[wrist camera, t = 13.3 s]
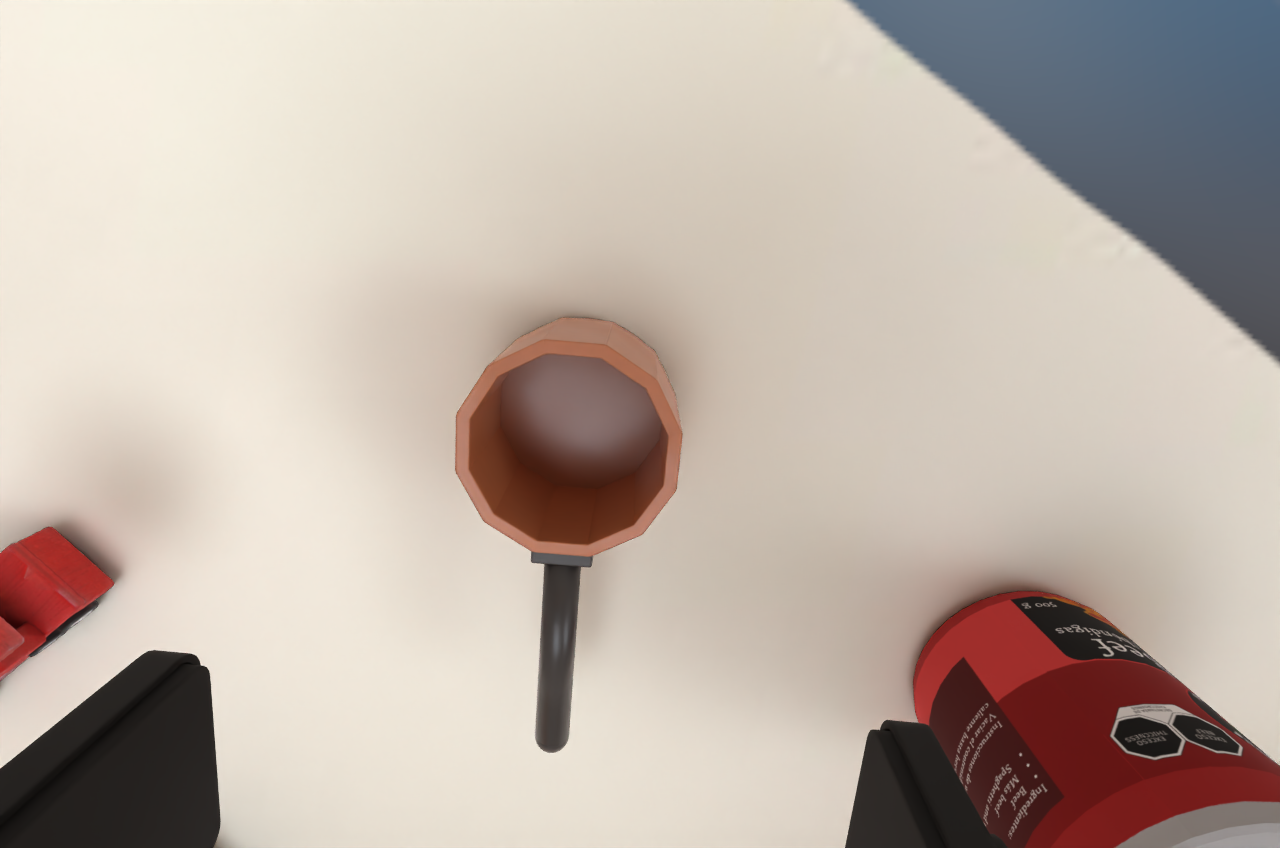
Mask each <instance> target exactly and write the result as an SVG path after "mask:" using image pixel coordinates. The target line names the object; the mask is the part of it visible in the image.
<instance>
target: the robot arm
mask: <svg viewBox="0 0 1280 848" xmlns="http://www.w3.org/2000/svg"><path fill="white" fill-rule="evenodd" d="M219 829H220V807H219V793H218V779H217V765H216V751H215V737H214V723H213V709H212V696H211V682H210V673H209V670H208V669H207V667H205V666H201V665H200V661H199V659H198V658H197V656H195V655H193V654H188V653H178V652H167V651H156V650H153V651H148V652H146V653H144V654H143V655H141V656H140V657H139V658H137V659H136V660H135V661H134V662H132V663H131V664H130V665H129V666H128V667H126V668H125V669H124V670H123V671H121V672H120V673H119V674H118V675H116V676H115V677H114V678H113V679H111V680H110V681H109V682H108V683H106V684H105V685H104V686H103V687H101V688H100V689H99V690H98V691H96V692H95V693H94V694H93V695H91V696H90V697H89V698H88V699H86V700H85V701H84V702H83V703H81V704H80V705H79V706H78V707H77V708H75V709H74V710H73V711H72V712H70V713H69V714H68V715H67V716H65V717H64V718H63V719H62V720H60V721H59V722H58V723H57V724H55V725H54V726H53V727H52V728H50V729H49V730H48V731H47V732H45V733H44V734H43V735H42V736H40V737H39V738H38V739H37V740H35V741H34V742H33V743H32V744H31V745H29V746H28V747H27V748H26V749H24V750H23V751H22V752H21V753H19V754H18V755H17V756H16V757H14V758H13V759H12V760H11V761H9V762H8V763H7V764H6V765H4V766H3V767H2V768H1V769H0V848H213V847H214V844H215V842H216V840H217V837H218V834H219ZM845 848H1008V847H1007V846H1006V845H1005V843H1004V842H1003V840H1002V839H1000V838H999V837H998V836H996V835H995V834H990V833H989V832H988V830H987V828H986V826H985V824H984V823H983V821H982V819H981V817H980V815H979V814H978V812H977V810H976V808H975V806H974V805H973V803H972V801H971V799H970V797H969V796H968V794H967V792H966V790H965V788H964V787H963V785H962V783H961V781H960V779H959V777H958V776H957V774H956V772H955V770H954V768H953V767H952V765H951V763H950V761H949V759H948V758H947V756H946V754H945V752H944V750H943V749H942V747H941V745H940V743H939V741H938V740H937V738H936V736H935V734H934V732H933V731H932V729H931V728H930V727H929V725H927V724H924V723H914V722H903V721H892V720H886V721H884V722H883V724H882V725H881V728H880V730H870V732H869V734H868V737H867V741H866V746H865V751H864V756H863V761H862V766H861V771H860V776H859V781H858V786H857V791H856V796H855V801H854V806H853V811H852V816H851V821H850V826H849V831H848V836H847V841H846V846H845Z"/></svg>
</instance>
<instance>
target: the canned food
mask: <svg viewBox="0 0 1280 848" xmlns="http://www.w3.org/2000/svg"><path fill="white" fill-rule="evenodd" d="M913 689H914V703H915V712H916V716H917V719H918V722H919V723H924V724H927V725H929V727H930V728H931V729H932V731H933V732H934V734H935V736H936V738H937V740H938V741H939V743H940V745H941V747H942V749H943V750H944V752H945V754H946V756H947V758H948V759H949V761H950V763H951V765H952V767H953V768H954V770H955V772H956V774H957V776H958V777H959V779H960V781H961V783H962V785H963V787H964V788H965V790H966V792H967V794H968V796H969V797H970V799H971V801H972V803H973V805H974V806H975V808H976V810H977V812H978V814H979V815H980V817H981V819H982V821H983V823H984V824H985V826H986V828H987V830H988V832H989V833H990V834H995V835H996V836H998V837H999V838H1000V839H1002V840H1003V842H1004V843H1005V845H1006V846H1007V847H1008V848H1280V766H1279V765H1278V764H1277V763H1276V762H1274V761H1273V760H1272V759H1271V758H1270V757H1268V756H1267V755H1266V754H1265V753H1264V752H1263V751H1261V750H1260V749H1259V748H1258V747H1257V746H1256V745H1254V744H1253V743H1252V742H1251V741H1250V740H1248V739H1247V738H1246V737H1245V736H1244V735H1243V734H1241V733H1240V732H1239V731H1238V730H1237V729H1235V728H1234V727H1233V726H1232V725H1231V724H1230V723H1228V722H1227V721H1226V720H1225V719H1224V718H1223V717H1221V716H1220V715H1219V714H1218V713H1217V712H1215V711H1214V710H1213V709H1212V708H1211V707H1210V706H1208V705H1207V704H1206V703H1205V702H1204V701H1202V700H1201V699H1200V698H1199V697H1198V696H1197V695H1195V694H1194V693H1193V692H1192V691H1191V690H1190V689H1188V688H1187V687H1186V686H1185V685H1184V684H1182V683H1181V682H1180V681H1179V680H1178V679H1177V678H1175V677H1174V676H1173V675H1172V674H1171V673H1170V672H1168V671H1167V670H1166V669H1165V668H1164V667H1162V666H1161V665H1160V664H1159V663H1158V662H1157V661H1155V660H1154V659H1153V658H1152V657H1151V656H1149V655H1148V654H1147V653H1146V652H1145V651H1144V650H1142V649H1141V648H1140V647H1139V646H1138V645H1137V644H1135V643H1134V642H1133V641H1132V640H1131V639H1129V638H1128V637H1127V636H1126V635H1125V634H1124V633H1122V632H1121V631H1120V630H1119V629H1118V628H1116V627H1115V626H1114V625H1113V624H1112V623H1111V622H1109V621H1108V620H1107V619H1106V618H1104V617H1103V616H1102V615H1100V614H1099V613H1097V612H1096V611H1094V610H1093V609H1091V608H1089V607H1087V606H1085V605H1082V604H1080V603H1077V602H1075V601H1072V600H1070V599H1067V598H1064V597H1061V596H1059V595H1055V594H1049V593H1044V592H1039V591H1017V592H1010V593H1004V594H998V595H995V596H992V597H989V598H986V599H983V600H980V601H978V602H976V603H974V604H972V605H970V606H968V607H966V608H964V609H962V610H961V611H959V612H958V613H957V614H955V615H954V616H952V617H951V618H950V619H948V620H947V621H946V622H945V623H944V624H943V625H942V626H941V627H940V628H939V629H938V630H937V631H936V632H935V633H934V634H933V635H932V637H931V638H930V640H929V641H928V642H927V644H926V645H925V647H924V648H923V650H922V652H921V655H920V657H919V659H918V662H917V664H916V668H915V674H914V679H913Z"/></svg>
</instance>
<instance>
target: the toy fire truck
mask: <svg viewBox="0 0 1280 848" xmlns="http://www.w3.org/2000/svg"><path fill="white" fill-rule="evenodd" d="M113 585H114V582H113V580H112V579H110V578H109V577H108V576H107V575H106V574H104V573H103V572H102V571H101V570H100V569H99V568H98V567H97V566H96V565H95V564H93V563H92V562H91V561H90V560H89V559H88V558H87V557H86V556H85V555H83V554H82V553H81V552H80V551H79V550H78V549H76V548H75V547H74V546H73V545H72V544H71V543H70V542H69V541H68V540H66V539H65V538H64V537H63V536H62V535H61V534H60V533H59V532H57V531H56V530H55V529H54V528H52V527H46V528H44V529H42V530H41V531H39V532H36V533H34V534H33V535H31V536H29V537H27V538H24V539H22V540H20V541H18V542H17V543H12V544H10V545H9V546H8V547H6V548H5V549H4V550H3V551H2V552H1V553H0V681H1V680H2V679H4V678H5V677H6V676H7V675H8V674H10V673H11V672H12V671H13V670H14V669H15V668H17V667H18V666H19V665H20V664H21V663H22V662H24V661H25V660H26V659H27V658H28V657H32V656H35V655H36V654H38V653H39V652H41V651H42V650H43V649H45V648H47V647H48V646H49V645H50V644H52V643H53V642H54V641H55V640H57V639H58V638H59V637H60V636H62V635H63V634H65V633H66V631H67V630H68V629H69V628H71V627H72V626H74V625H76V624H77V623H78V622H80V621H81V620H82V619H83V618H85V617H86V616H87V615H88V614H89V613H91V612H92V611H93V610H94V609H95V608H96V607H97V606H98V603H97V601H96V600H95V599H97V598H98V597H100V596H101V595H103V594H104V593H105V592H107V591H108V590H109V589H110V588H111V587H112V586H113Z"/></svg>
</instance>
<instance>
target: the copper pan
mask: <svg viewBox="0 0 1280 848" xmlns="http://www.w3.org/2000/svg"><path fill="white" fill-rule="evenodd" d="M681 444H682V429H681V423H680V418H679V412H678V406H677V401H676V395H675V392H674V390H673V388H672V386H671V384H670V382H669V379H668V377H667V374H666V372H665V370H664V368H663V366H662V364H661V362H660V360H659V358H658V356H657V354H656V352H655V351H654V350H653V349H652V348H650V347H649V346H647V345H646V344H645V343H644V342H643V341H642V340H641V339H639V338H638V337H637V336H636V335H634V334H633V333H631V332H629V331H628V330H626V329H624V328H622V327H620V326H619V325H617V324H616V323H614V322H611V321H603V320H599V319H592V318H565V317H563V318H560V319H557V320H555V321H553V322H551V323H548V324H546V325H543V326H541V327H539V328H537V329H536V330H534V331H532V332H530V333H528V334H526V335H524V336H522V337H520V338H518V339H517V340H515V341H514V342H513V343H512V344H511V345H510V346H509V347H508V348H507V349H506V350H504V351H503V352H502V353H501V354H500V355H499V356H498V357H497V358H496V359H495V360H493V361H492V362H491V363H490V364H489V365H488V366H487V367H486V369H485V370H484V372H483V374H482V375H481V377H480V378H479V380H478V381H477V383H476V384H475V386H474V387H473V389H472V390H471V392H470V393H469V395H468V397H467V398H466V400H465V401H464V403H463V404H462V406H461V407H460V409H459V410H458V412H457V415H456V454H455V471H456V474H457V475H458V477H459V479H460V481H461V482H462V484H463V486H464V488H465V490H466V491H467V493H468V495H469V497H470V498H471V500H472V502H473V504H474V505H475V507H476V509H477V511H478V512H479V514H480V516H481V518H482V519H483V521H484V522H485V523H487V524H488V525H490V526H492V527H493V528H495V529H496V530H498V531H500V532H501V533H503V534H504V535H506V536H508V537H509V538H511V539H512V540H514V541H516V542H517V543H519V544H520V545H522V546H524V547H525V548H527V549H528V550H530V551H531V562H532V563H541V564H545V566H544V584H543V602H542V620H541V638H540V657H539V675H538V693H537V711H536V729H535V739H536V742H537V744H538V746H539V747H540V748H541V749H542V750H543V751H545V752H548V753H554V752H558V751H560V750H561V749H562V748H563V747H564V746H565V745H566V743H567V741H568V738H569V728H570V713H571V699H572V685H573V671H574V657H575V642H576V628H577V614H578V600H579V585H580V571H581V567H591V566H592V561H593V555H596V554H598V553H600V552H603V551H605V550H607V549H610V548H612V547H614V546H617V545H619V544H622V543H624V542H626V541H629V540H631V539H633V538H636V537H638V536H640V535H642V534H643V533H644V532H645V531H646V529H647V528H648V527H649V525H650V524H651V523H652V522H653V520H654V519H655V518H656V516H657V515H658V514H659V512H660V511H661V510H662V508H663V507H664V506H665V504H666V503H667V502H668V501H669V499H670V498H671V497H672V495H673V494H674V493H675V491H676V489H677V482H678V472H679V463H680V454H681Z"/></svg>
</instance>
